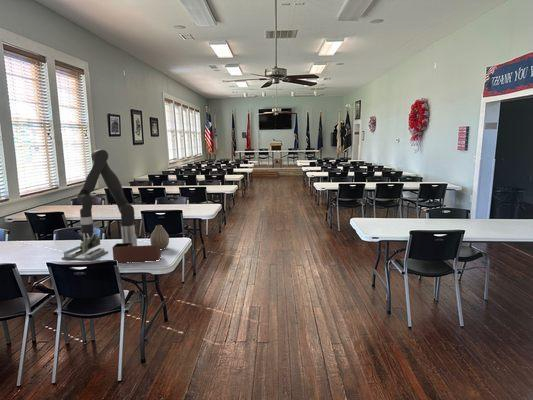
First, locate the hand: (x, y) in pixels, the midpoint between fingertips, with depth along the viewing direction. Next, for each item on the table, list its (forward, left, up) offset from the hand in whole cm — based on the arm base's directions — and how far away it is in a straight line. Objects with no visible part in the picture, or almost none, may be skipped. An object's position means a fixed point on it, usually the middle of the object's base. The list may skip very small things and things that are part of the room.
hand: (88, 247), depth 248 cm
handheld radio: (+1, 0, -2) cm, 2 cm away
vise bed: (+3, 0, -6) cm, 7 cm away
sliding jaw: (+10, 0, -5) cm, 11 cm away
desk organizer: (-39, +5, -7) cm, 40 cm away
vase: (-42, -21, -6) cm, 47 cm away
